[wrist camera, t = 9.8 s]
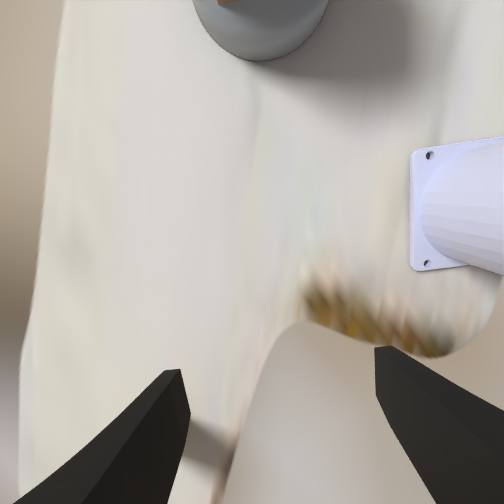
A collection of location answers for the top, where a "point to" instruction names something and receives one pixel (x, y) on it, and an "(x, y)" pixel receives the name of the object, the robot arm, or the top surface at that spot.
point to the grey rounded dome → (260, 25)
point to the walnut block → (225, 1)
